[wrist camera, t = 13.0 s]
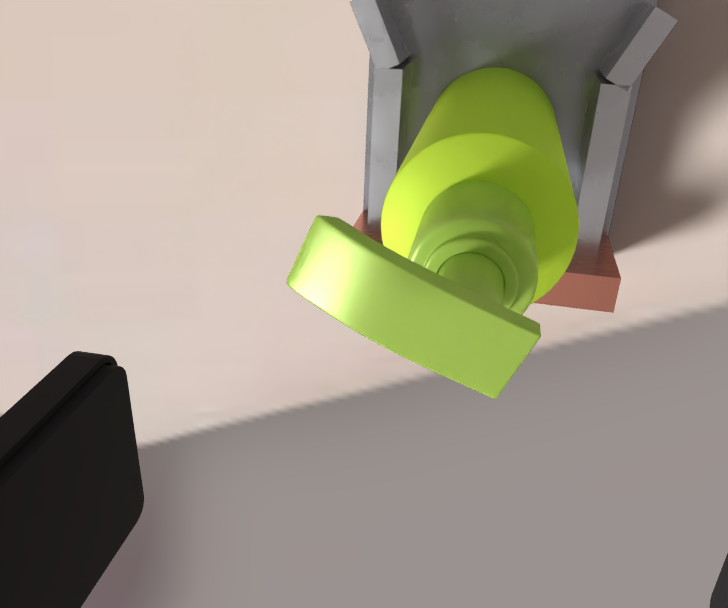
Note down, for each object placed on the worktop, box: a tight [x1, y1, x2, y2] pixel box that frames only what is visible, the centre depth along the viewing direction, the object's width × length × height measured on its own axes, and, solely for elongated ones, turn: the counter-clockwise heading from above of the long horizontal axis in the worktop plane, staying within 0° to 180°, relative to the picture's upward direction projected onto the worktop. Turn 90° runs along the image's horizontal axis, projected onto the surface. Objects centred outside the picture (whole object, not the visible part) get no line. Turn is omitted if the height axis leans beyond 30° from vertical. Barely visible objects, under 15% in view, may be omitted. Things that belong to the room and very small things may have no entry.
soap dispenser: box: [287, 67, 579, 399], centre depth 23 cm, size 6×7×20 cm
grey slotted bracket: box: [350, 0, 678, 312], centre depth 29 cm, size 18×13×6 cm
